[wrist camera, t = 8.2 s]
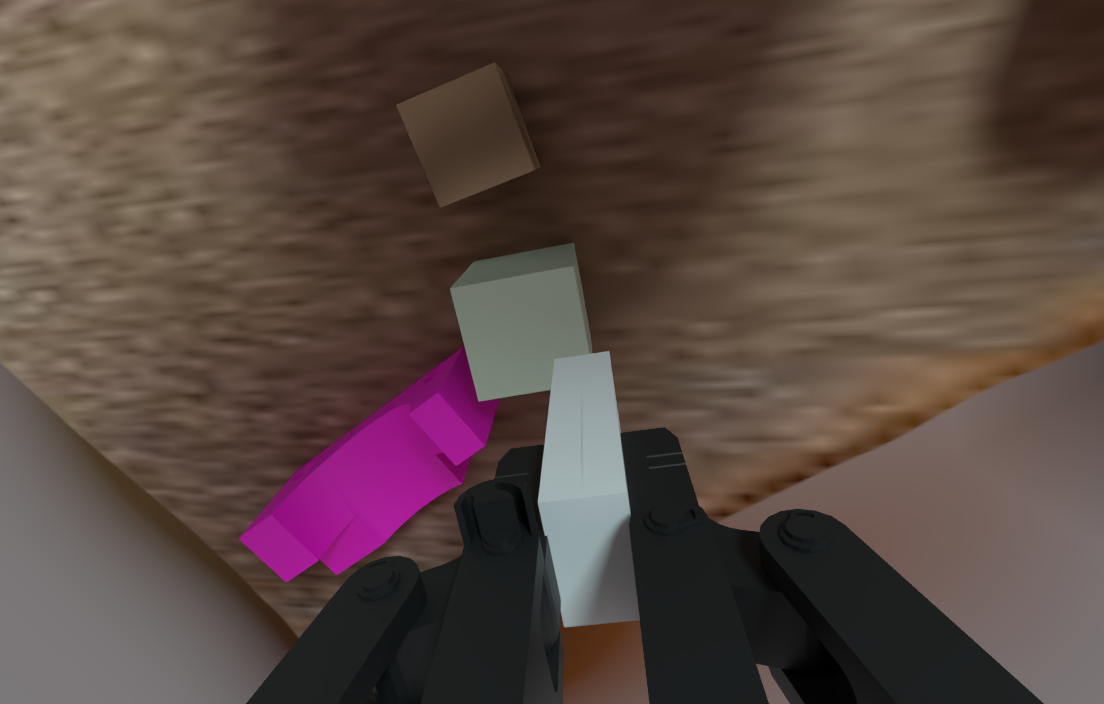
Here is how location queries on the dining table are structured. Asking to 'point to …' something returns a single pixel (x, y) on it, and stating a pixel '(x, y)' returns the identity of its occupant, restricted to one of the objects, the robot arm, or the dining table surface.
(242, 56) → the dining table surface
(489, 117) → the walnut block
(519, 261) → the sage block
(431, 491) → the toy block
